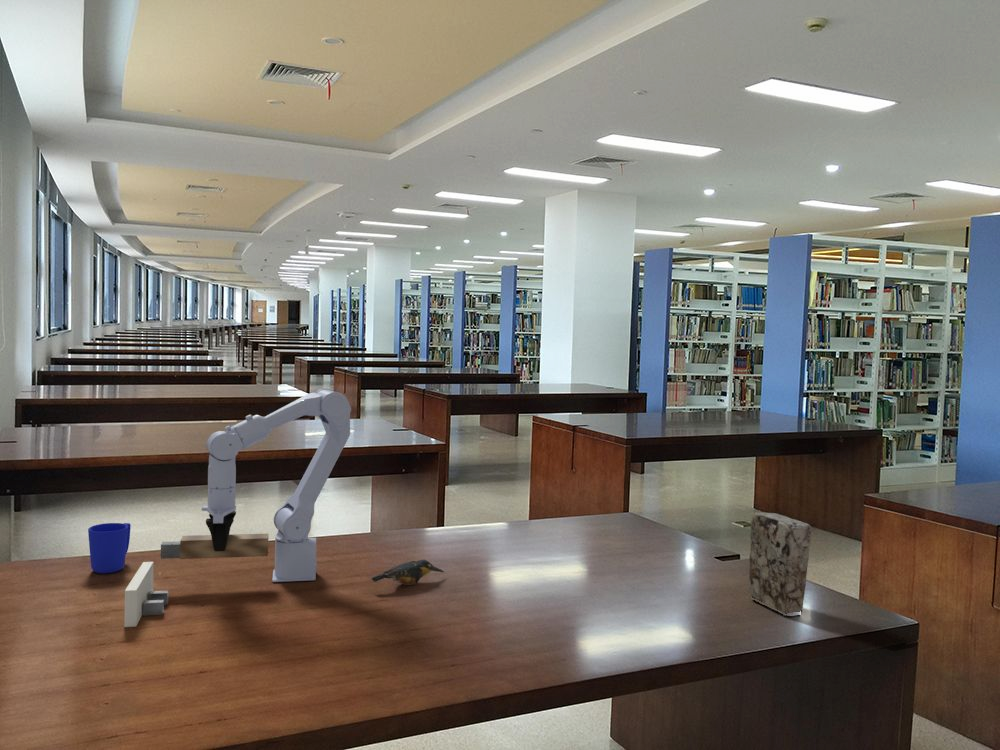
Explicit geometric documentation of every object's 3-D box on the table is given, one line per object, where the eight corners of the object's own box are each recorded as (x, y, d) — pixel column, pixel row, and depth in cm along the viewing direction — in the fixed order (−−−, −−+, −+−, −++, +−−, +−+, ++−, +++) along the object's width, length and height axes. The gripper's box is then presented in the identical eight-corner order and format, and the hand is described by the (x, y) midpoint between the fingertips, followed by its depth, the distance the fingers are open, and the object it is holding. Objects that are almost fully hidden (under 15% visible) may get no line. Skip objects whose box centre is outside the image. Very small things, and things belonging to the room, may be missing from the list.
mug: (144, 561, 187) (144, 520, 186) (114, 577, 175) (114, 533, 174) (111, 558, 188) (112, 517, 187) (79, 574, 176) (80, 530, 175)
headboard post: (172, 593, 166) (172, 561, 165) (157, 625, 148) (158, 589, 148) (142, 594, 164) (143, 562, 164) (124, 627, 147) (124, 590, 147)
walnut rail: (268, 550, 176) (268, 533, 176) (267, 556, 172) (267, 538, 172) (163, 554, 171) (163, 536, 170) (160, 559, 167) (160, 541, 166)
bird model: (377, 596, 169) (378, 573, 169) (365, 589, 173) (366, 567, 172) (449, 579, 182) (450, 558, 182) (437, 574, 186) (437, 553, 185)
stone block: (809, 615, 167) (815, 523, 166) (785, 619, 164) (791, 526, 163) (763, 595, 179) (768, 509, 178) (740, 599, 176) (745, 511, 175)
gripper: (206, 480, 177) (205, 539, 178) (198, 494, 163) (197, 558, 164) (239, 479, 178) (237, 538, 179) (233, 493, 164) (232, 556, 165)
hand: (220, 547), depth 172 cm, fingers closed on walnut rail, 4 cm apart
